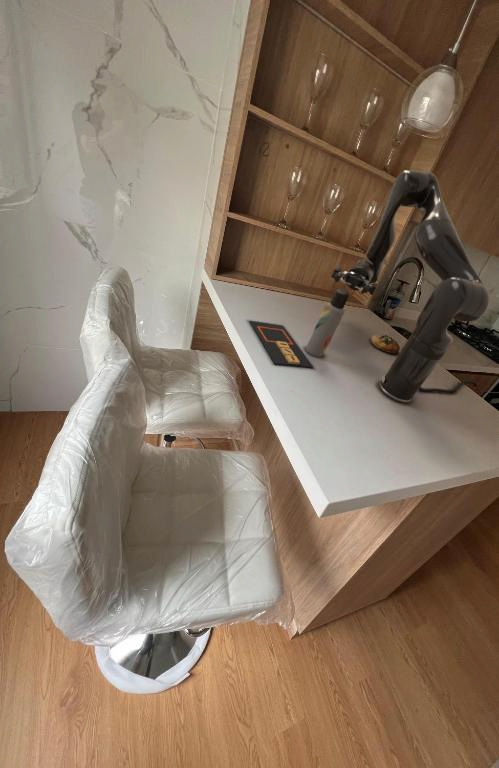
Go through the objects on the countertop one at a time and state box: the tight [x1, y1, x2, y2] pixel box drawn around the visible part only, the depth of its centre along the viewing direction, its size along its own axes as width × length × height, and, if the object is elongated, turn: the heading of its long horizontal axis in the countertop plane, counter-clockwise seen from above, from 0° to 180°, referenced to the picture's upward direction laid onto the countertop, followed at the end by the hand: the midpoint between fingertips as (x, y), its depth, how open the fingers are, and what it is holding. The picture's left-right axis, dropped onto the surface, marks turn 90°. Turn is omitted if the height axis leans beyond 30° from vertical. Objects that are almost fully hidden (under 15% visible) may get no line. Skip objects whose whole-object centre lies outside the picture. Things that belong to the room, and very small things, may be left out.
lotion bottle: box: [305, 288, 351, 358], centre depth 94 cm, size 6×6×20 cm
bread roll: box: [370, 333, 401, 354], centre depth 121 cm, size 11×11×5 cm
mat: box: [249, 320, 314, 369], centre depth 97 cm, size 24×12×1 cm, turn 17°
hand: (350, 284), depth 98 cm, fingers open, 8 cm apart
